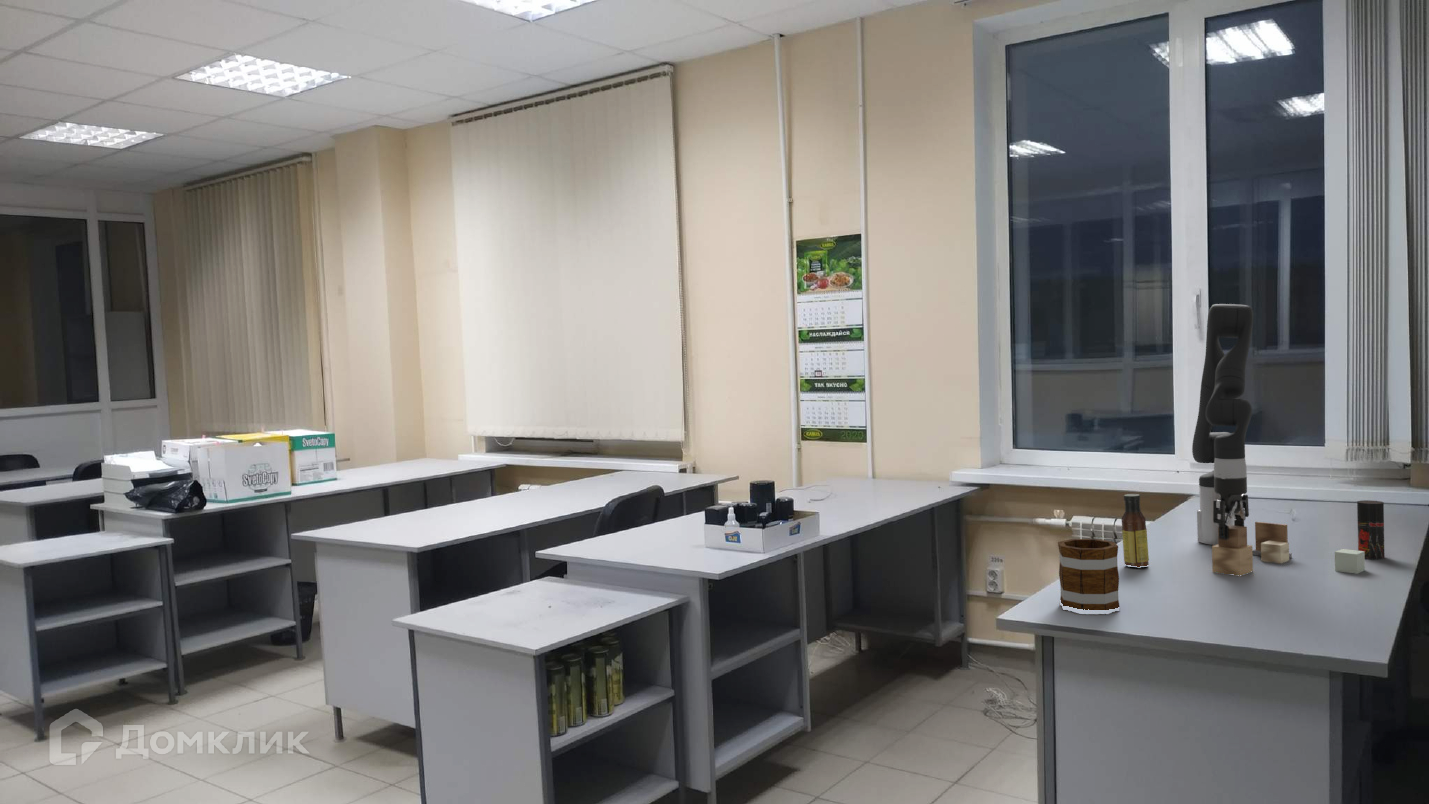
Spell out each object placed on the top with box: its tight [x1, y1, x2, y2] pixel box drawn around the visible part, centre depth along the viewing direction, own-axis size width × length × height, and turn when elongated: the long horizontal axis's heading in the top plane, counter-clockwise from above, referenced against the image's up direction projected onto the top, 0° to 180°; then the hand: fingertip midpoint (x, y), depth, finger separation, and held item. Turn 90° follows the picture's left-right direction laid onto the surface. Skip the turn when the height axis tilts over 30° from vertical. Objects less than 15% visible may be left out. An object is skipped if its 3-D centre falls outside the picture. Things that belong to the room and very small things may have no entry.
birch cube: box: [1260, 540, 1290, 564], centre depth 259 cm, size 5×5×5 cm
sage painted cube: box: [1334, 548, 1366, 574], centre depth 245 cm, size 5×5×5 cm
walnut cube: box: [1218, 525, 1248, 549], centre depth 249 cm, size 5×5×5 cm
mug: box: [1057, 538, 1120, 610], centre depth 224 cm, size 20×14×15 cm
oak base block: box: [1211, 544, 1254, 577], centre depth 249 cm, size 7×7×7 cm
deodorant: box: [1356, 499, 1386, 560], centre depth 258 cm, size 6×6×15 cm
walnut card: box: [1252, 521, 1292, 559], centre depth 265 cm, size 9×3×9 cm, turn 37°
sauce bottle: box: [1121, 493, 1150, 567], centre depth 260 cm, size 6×6×20 cm
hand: (1231, 536), depth 249 cm, fingers open, 8 cm apart
